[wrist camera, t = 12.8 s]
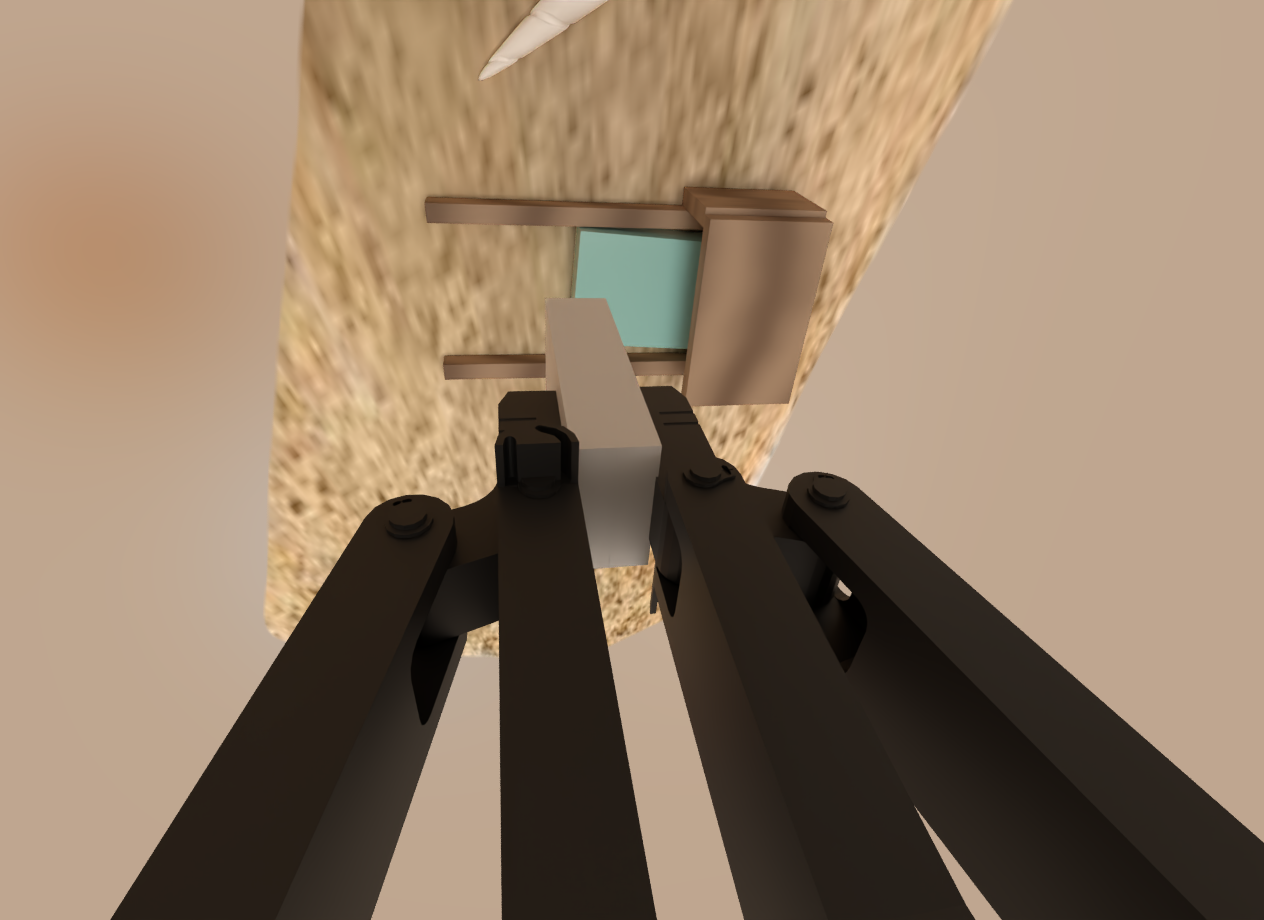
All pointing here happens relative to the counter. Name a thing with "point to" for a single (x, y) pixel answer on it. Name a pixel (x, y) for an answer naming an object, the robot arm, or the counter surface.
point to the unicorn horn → (538, 31)
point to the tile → (640, 280)
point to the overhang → (725, 287)
